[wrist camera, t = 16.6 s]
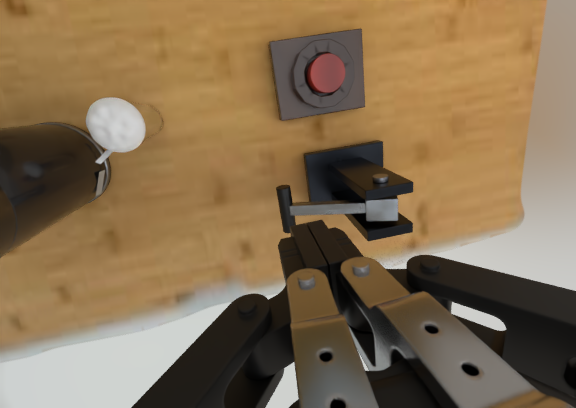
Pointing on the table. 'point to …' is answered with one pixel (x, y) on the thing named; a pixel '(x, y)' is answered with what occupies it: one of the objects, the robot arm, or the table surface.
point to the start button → (326, 73)
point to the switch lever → (335, 208)
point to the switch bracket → (357, 184)
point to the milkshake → (121, 124)
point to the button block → (294, 65)
